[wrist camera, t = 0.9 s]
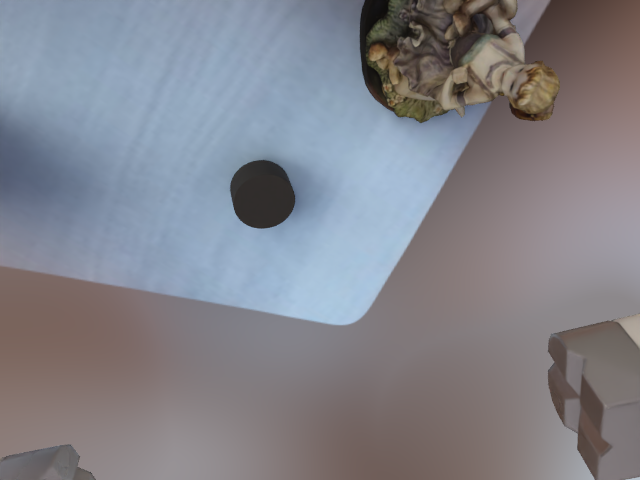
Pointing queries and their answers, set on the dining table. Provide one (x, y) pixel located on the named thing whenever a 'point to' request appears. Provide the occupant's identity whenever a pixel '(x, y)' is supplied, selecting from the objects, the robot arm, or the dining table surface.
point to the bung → (262, 194)
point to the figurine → (450, 58)
